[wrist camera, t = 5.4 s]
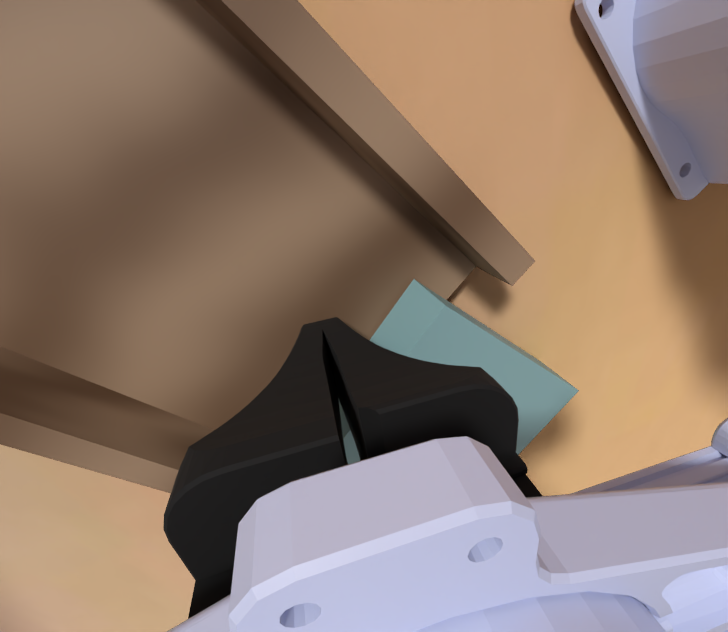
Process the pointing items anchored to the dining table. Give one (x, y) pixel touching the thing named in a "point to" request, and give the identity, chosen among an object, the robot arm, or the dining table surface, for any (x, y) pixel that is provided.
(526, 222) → the dining table surface
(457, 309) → the teal square tile
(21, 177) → the box
